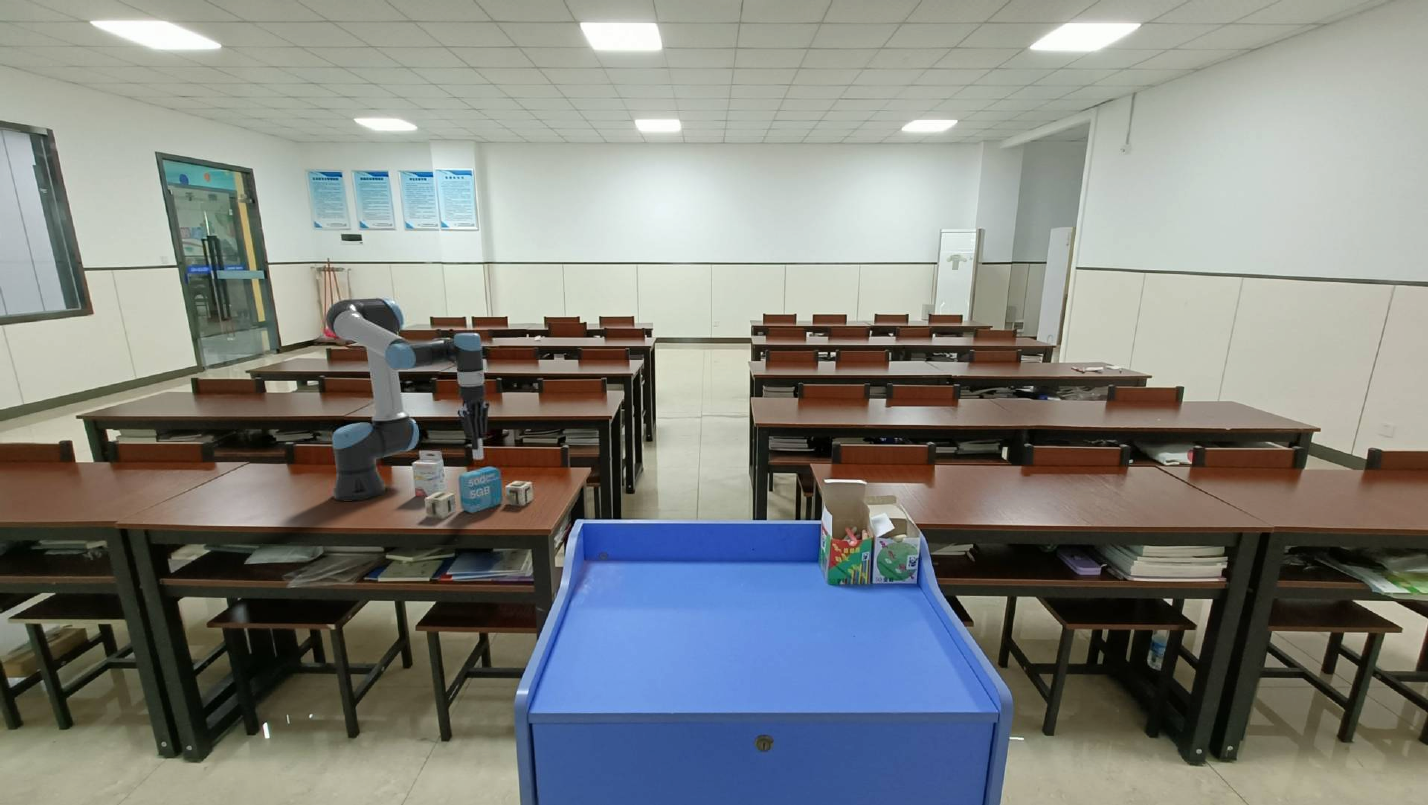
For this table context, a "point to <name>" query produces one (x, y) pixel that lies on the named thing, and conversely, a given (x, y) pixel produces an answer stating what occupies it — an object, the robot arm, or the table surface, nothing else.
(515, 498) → the maple block seven
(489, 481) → the data package
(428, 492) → the ink cartridge box
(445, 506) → the maple block one
